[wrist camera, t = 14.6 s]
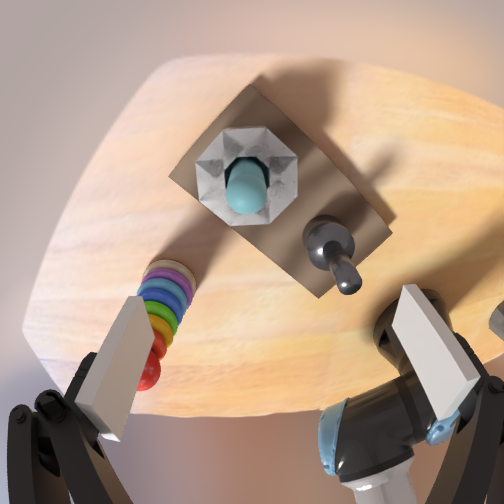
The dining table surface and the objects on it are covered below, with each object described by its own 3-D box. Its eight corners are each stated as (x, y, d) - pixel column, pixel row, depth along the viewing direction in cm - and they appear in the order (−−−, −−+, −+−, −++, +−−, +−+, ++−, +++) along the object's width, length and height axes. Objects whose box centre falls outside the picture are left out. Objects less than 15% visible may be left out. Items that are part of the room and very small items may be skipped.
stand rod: (353, 234, 35) (387, 281, 26) (322, 262, 37) (344, 316, 28) (325, 205, 34) (356, 246, 24) (293, 236, 36) (309, 287, 26)
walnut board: (386, 227, 37) (392, 232, 35) (315, 290, 42) (318, 298, 40) (249, 85, 29) (249, 84, 27) (172, 172, 33) (168, 176, 32)
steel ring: (291, 209, 31) (297, 223, 27) (207, 213, 31) (202, 227, 27) (290, 124, 26) (297, 127, 23) (199, 129, 27) (192, 132, 23)
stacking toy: (144, 252, 39) (89, 349, 22) (199, 262, 39) (172, 369, 23) (144, 296, 42) (103, 394, 26) (194, 306, 43) (172, 411, 26)
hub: (291, 162, 31) (318, 197, 19) (249, 205, 34) (249, 263, 22) (244, 121, 29) (242, 127, 17) (203, 167, 31) (175, 204, 19)
